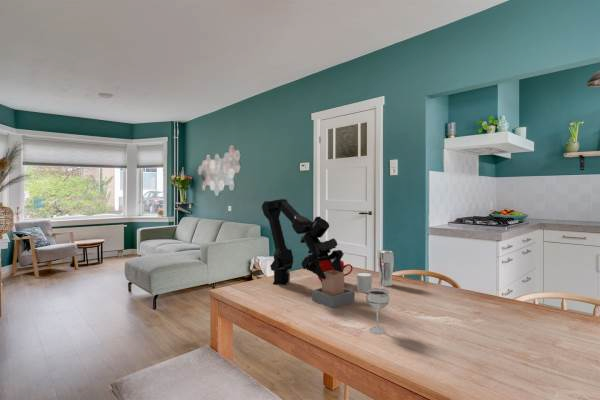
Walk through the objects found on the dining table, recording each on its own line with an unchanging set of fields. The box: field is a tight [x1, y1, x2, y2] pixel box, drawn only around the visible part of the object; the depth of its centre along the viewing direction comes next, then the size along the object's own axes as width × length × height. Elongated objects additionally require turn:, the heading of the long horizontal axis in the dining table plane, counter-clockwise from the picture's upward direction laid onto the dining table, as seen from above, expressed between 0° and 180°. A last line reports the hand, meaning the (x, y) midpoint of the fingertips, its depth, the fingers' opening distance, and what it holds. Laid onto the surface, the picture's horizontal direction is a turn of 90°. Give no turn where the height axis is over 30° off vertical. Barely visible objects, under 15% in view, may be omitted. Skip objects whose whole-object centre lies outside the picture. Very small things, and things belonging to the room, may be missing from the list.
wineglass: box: [365, 287, 390, 335], centre depth 101 cm, size 7×7×12 cm
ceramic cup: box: [316, 260, 354, 283], centre depth 152 cm, size 13×17×10 cm
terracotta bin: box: [321, 270, 345, 296], centre depth 128 cm, size 6×6×10 cm
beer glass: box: [377, 249, 395, 288], centre depth 150 cm, size 7×7×15 cm
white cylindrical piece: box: [355, 272, 373, 294], centre depth 141 cm, size 7×7×7 cm
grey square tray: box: [311, 287, 356, 309], centre depth 128 cm, size 12×12×4 cm
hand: (333, 276), depth 128 cm, fingers open, 9 cm apart
